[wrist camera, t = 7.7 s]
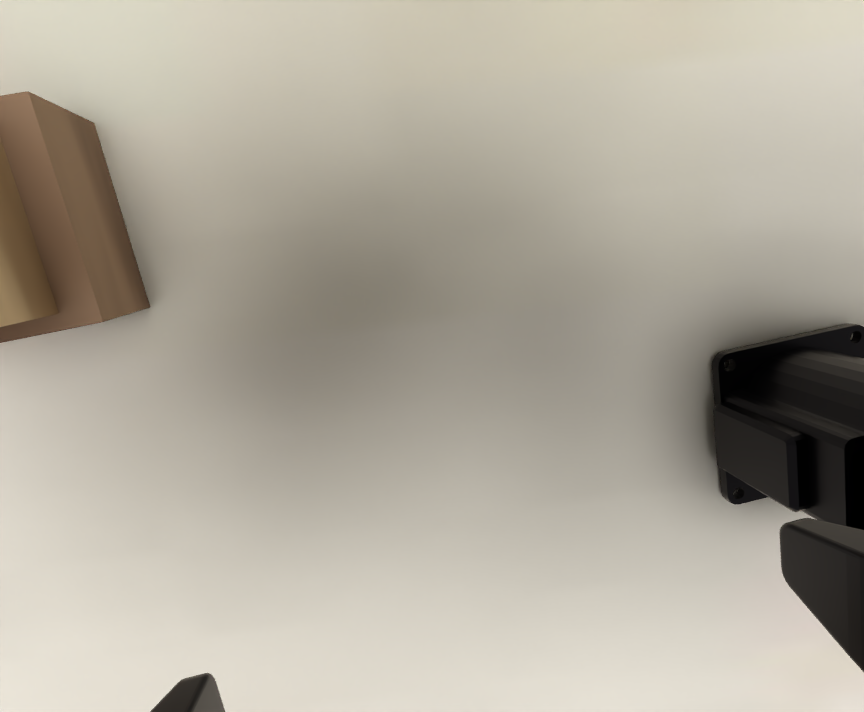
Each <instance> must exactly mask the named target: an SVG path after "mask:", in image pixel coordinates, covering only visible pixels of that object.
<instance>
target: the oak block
mask: <svg viewBox="0 0 864 712" xmlns="http://www.w3.org/2000/svg"><path fill="white" fill-rule="evenodd" d="M55 314H59V312H58V309H57V306H56V303H55V300H54V297H53V294H52V291H51V288H50V285H49V282H48V279H47V276H46V273H45V270H44V267H43V264H42V261H41V258H40V255H39V252H38V249H37V246H36V243H35V240H34V237H33V234H32V231H31V228H30V225H29V222H28V219H27V216H26V213H25V210H24V207H23V204H22V201H21V198H20V195H19V192H18V189H17V186H16V183H15V180H14V177H13V174H12V171H11V168H10V165H9V162H8V159H7V156H6V153H5V150H4V147H3V144H2V141H1V138H0V327H3V326H7V325H12V324H16V323H20V322H25V321H29V320H33V319H38V318H42V317H46V316H51V315H55Z"/></svg>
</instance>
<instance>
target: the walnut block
mask: <svg viewBox="0 0 864 712" xmlns="http://www.w3.org/2000/svg"><path fill="white" fill-rule="evenodd" d="M0 138H1V141H2V144H3V147H4V150H5V153H6V156H7V159H8V162H9V165H10V168H11V171H12V174H13V177H14V180H15V183H16V186H17V189H18V192H19V195H20V198H21V201H22V204H23V207H24V210H25V213H26V216H27V219H28V222H29V225H30V228H31V231H32V234H33V237H34V240H35V243H36V246H37V249H38V252H39V255H40V258H41V261H42V264H43V267H44V270H45V273H46V276H47V279H48V282H49V285H50V288H51V291H52V294H53V297H54V300H55V303H56V306H57V309H58V312H59V314H55V315H51V316H46V317H42V318H38V319H33V320H29V321H25V322H20V323H16V324H12V325H7V326H3V327H0V343H2V342H7V341H12V340H17V339H22V338H27V337H31V336H36V335H41V334H46V333H51V332H56V331H61V330H66V329H70V328H75V327H80V326H85V325H90V324H95V323H100V322H104V321H107V320H111V319H114V318H117V317H120V316H123V315H127V314H130V313H133V312H136V311H140V310H143V309H146V308H149V307H150V305H149V301H148V298H147V295H146V292H145V288H144V285H143V282H142V278H141V275H140V272H139V269H138V265H137V262H136V259H135V256H134V252H133V249H132V246H131V242H130V239H129V236H128V233H127V229H126V226H125V223H124V220H123V216H122V213H121V210H120V206H119V203H118V200H117V197H116V193H115V190H114V187H113V184H112V180H111V177H110V174H109V170H108V167H107V164H106V161H105V157H104V154H103V151H102V148H101V144H100V141H99V138H98V134H97V131H96V128H95V125H94V123H93V122H91V121H89V120H87V119H84V118H82V117H80V116H78V115H76V114H74V113H72V112H70V111H68V110H66V109H64V108H62V107H59V106H57V105H55V104H53V103H51V102H49V101H47V100H45V99H43V98H41V97H39V96H37V95H34V94H32V93H30V92H21V93H15V94H9V95H3V96H0Z"/></svg>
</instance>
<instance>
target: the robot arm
mask: <svg viewBox="0 0 864 712" xmlns="http://www.w3.org/2000/svg"><path fill="white" fill-rule="evenodd" d="M852 333H853V337H852V339H851V340H850V337H851V334H852ZM727 360H729V366H728V367H727V368H726V369H724V363H725V362H726V361H727ZM712 374H713V388H714V401H715V408H714V411H713V414H714V427H715V440H716V453H717V464H718V466H719V467H720V479H721V492H722V495H723V497H724V498H725V499H726V500H728V501H729V502H731V503H733V504H742V503H746V502H750V501H754V500H758V499H762V498H766V497H770V498H772V499H773V500H775V501H777V502H778V503H780V504H782V505H783V506H785V507H787V508H788V509H790V510H792V511H794V512H798V511H803V512H805V513H806V514H808V515H810V516H811V517H813V518H815V519H817V520H815V519H810V518H803V519H799V520H796V521H792V522H788V523H785V524H784V525H782V527H781V529H780V549H781V568H782V572H783V576H784V578H785V580H786V582H787V583H788V585H789V586H790V588H791V589H792V590H793V591H794V592H795V593H796V595H797V596H798V597H799V598H800V599H801V600H802V602H803V603H804V604H805V605H806V606H807V607H808V609H809V610H810V611H811V612H812V613H813V614H814V616H815V617H816V618H817V619H818V620H819V621H820V623H821V624H822V625H823V626H824V627H825V628H826V630H827V631H828V632H829V633H830V634H831V635H832V637H833V638H834V639H835V640H836V641H837V642H838V644H839V645H840V646H841V647H842V648H843V649H844V651H845V652H846V653H847V654H848V655H849V656H850V657H851V659H852V660H853V661H854V662H855V663H856V664H857V665H858V666H859V667H860V669H861V670H862V671H863V672H864V327H863V326H861V325H856V324H844V325H839V326H835V327H830V328H826V329H821V330H817V331H812V332H808V333H803V334H799V335H794V336H789V337H785V338H780V339H776V340H771V341H767V342H762V343H758V344H753V345H749V346H744V347H740V348H735V349H731V350H726V351H722V352H720V353H718V354H717V355H716V356H715V357H714V359H713V361H712ZM736 488H738V491H737V492H736V493H735V494H733V492H734V490H735V489H736ZM150 712H225V710H224V707H223V703H222V700H221V697H220V694H219V690H218V687H217V684H216V681H215V679H214V677H213V676H212V675H211V674H209V673H204V674H200V675H196V676H193V677H189V678H185V679H182V680H181V681H180V682H178V683H177V684H176V685H175V686H174V687H173V689H172V690H171V691H170V692H169V693H168V694H167V695H166V696H165V697H164V698H163V699H162V700H161V701H160V702H159V703H158V704H157V705H156V706H155V707H154V708H153V709H152V710H151V711H150Z"/></svg>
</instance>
